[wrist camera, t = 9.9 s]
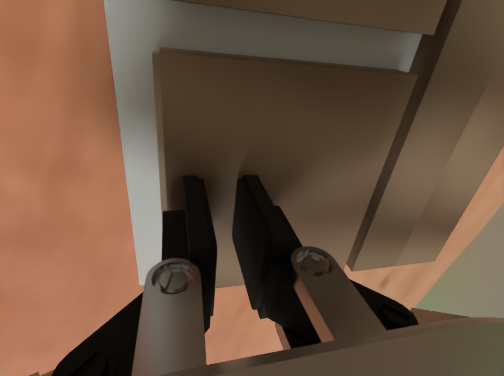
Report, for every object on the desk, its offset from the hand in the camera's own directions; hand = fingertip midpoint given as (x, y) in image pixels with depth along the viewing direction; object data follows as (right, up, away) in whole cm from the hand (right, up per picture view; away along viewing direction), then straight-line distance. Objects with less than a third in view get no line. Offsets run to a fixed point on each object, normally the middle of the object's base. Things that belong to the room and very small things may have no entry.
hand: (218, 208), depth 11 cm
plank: (+2, +1, +2) cm, 3 cm away
